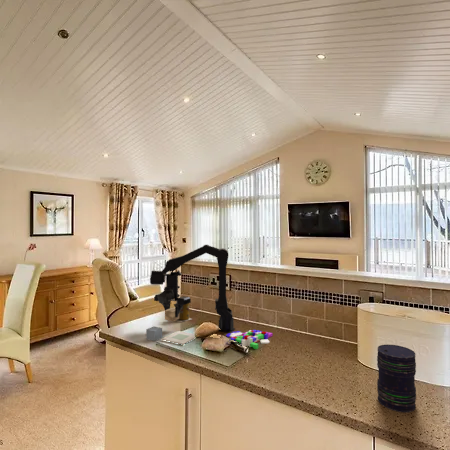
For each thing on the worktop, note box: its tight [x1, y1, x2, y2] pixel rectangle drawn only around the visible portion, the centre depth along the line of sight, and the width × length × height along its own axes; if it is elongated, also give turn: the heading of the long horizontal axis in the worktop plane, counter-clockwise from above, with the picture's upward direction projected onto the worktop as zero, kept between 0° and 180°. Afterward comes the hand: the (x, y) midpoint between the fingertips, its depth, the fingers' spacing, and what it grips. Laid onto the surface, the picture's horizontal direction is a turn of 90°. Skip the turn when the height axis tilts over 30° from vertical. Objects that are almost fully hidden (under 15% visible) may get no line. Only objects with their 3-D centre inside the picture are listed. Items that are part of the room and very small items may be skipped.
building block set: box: [225, 329, 273, 350], centre depth 143 cm, size 25×20×4 cm
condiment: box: [174, 296, 192, 323], centre depth 174 cm, size 7×8×12 cm
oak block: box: [164, 307, 179, 322], centre depth 156 cm, size 5×5×4 cm
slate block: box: [145, 326, 163, 342], centre depth 145 cm, size 5×5×4 cm
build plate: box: [160, 330, 195, 346], centre depth 144 cm, size 12×12×1 cm
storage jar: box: [376, 344, 417, 413], centre depth 92 cm, size 10×10×15 cm
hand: (172, 316), depth 156 cm, fingers closed on oak block, 5 cm apart
